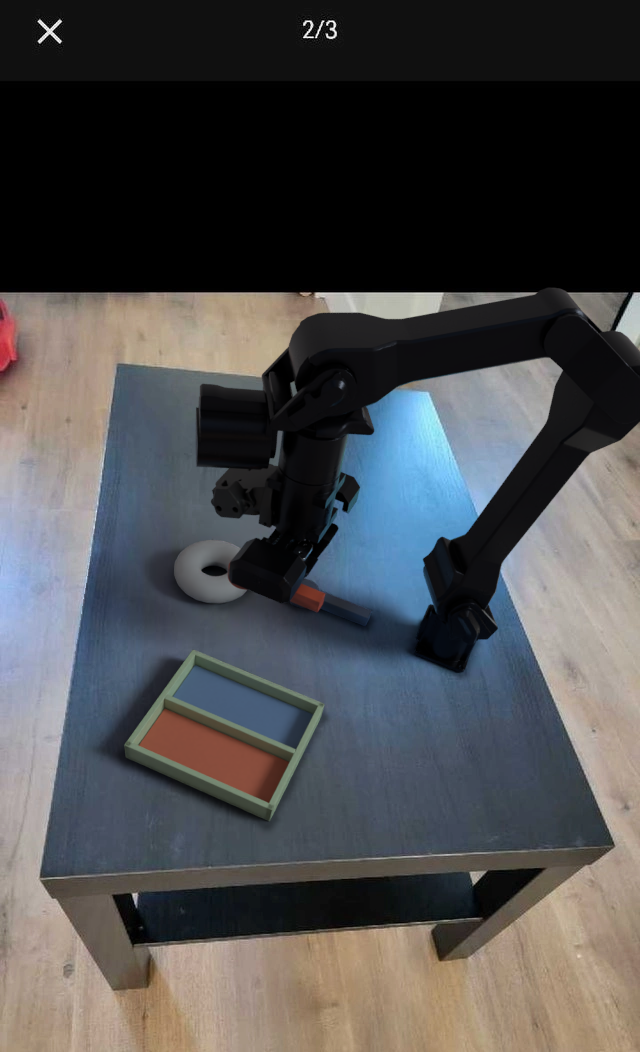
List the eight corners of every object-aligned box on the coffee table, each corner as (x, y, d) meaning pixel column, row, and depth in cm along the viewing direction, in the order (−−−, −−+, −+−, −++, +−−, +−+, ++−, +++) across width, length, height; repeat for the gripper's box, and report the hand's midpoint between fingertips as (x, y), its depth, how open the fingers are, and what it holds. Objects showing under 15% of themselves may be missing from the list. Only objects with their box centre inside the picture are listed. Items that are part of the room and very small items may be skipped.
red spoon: (327, 596, 75) (329, 586, 74) (313, 620, 73) (315, 609, 71) (237, 559, 77) (238, 549, 76) (221, 581, 74) (221, 570, 73)
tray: (321, 716, 76) (324, 703, 74) (269, 821, 67) (272, 810, 65) (192, 662, 78) (192, 648, 76) (125, 757, 69) (123, 744, 67)
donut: (269, 583, 88) (213, 542, 91) (272, 564, 86) (215, 522, 89) (213, 622, 83) (156, 577, 86) (215, 603, 80) (156, 557, 83)
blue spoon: (372, 612, 88) (375, 604, 86) (362, 633, 85) (364, 624, 84) (293, 581, 89) (295, 573, 88) (281, 601, 86) (283, 592, 85)
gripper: (273, 393, 69) (259, 514, 81) (178, 487, 57) (178, 614, 69) (375, 431, 68) (346, 549, 79) (298, 536, 56) (277, 657, 67)
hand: (288, 588), depth 74 cm, fingers closed on red spoon, 1 cm apart
